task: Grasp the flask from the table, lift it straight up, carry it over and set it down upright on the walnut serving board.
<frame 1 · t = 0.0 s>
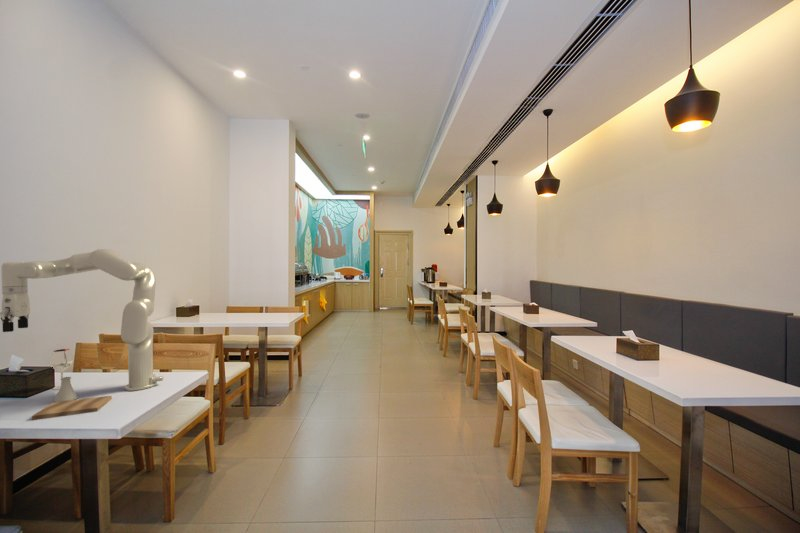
hand: (15, 329, 152), 31 cm above the table, tool pointing down, fingers open, 9 cm apart
flask: (66, 401, 152), on the table
walnut board: (74, 408, 142), on the table
wineglass: (62, 387, 169), on the table
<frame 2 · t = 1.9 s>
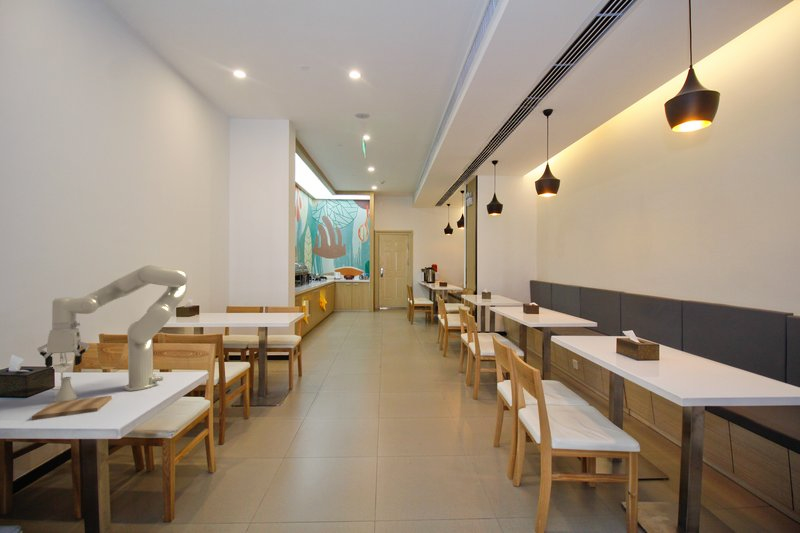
hand: (63, 365, 151), 15 cm above the table, tool pointing down, fingers open, 9 cm apart
nothing on the table moved.
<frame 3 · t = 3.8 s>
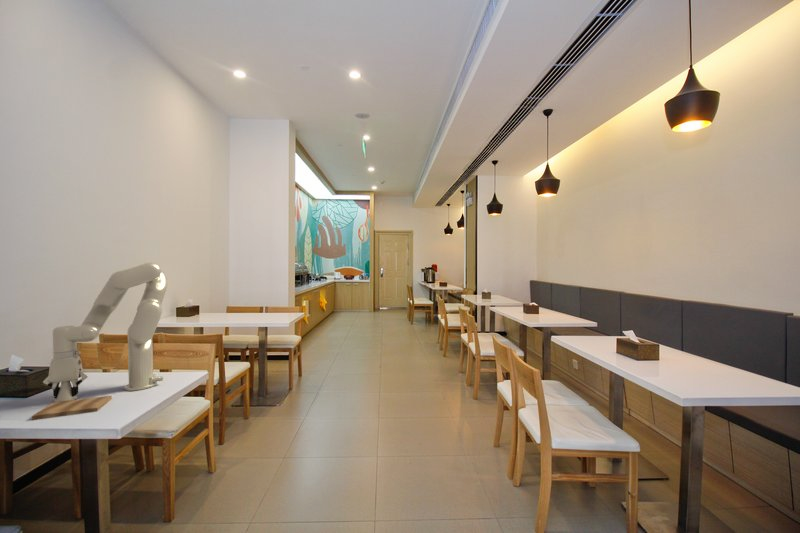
hand: (66, 396, 151), 2 cm above the table, tool pointing down, fingers closed on flask, 5 cm apart
flask: (66, 401, 152), on the table, touching gripper
everything else where it was.
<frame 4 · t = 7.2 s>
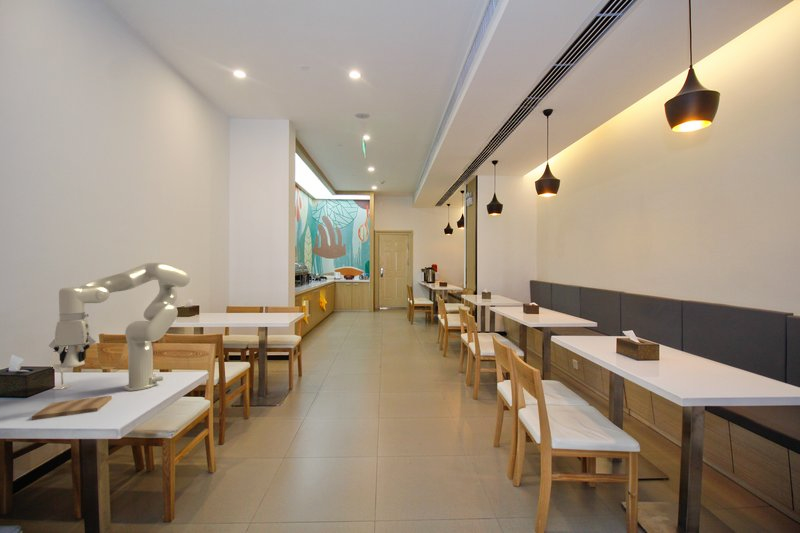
hand: (72, 361, 143), 19 cm above the table, tool pointing down, fingers closed on flask, 5 cm apart
flask: (73, 366, 143), point 17 cm above the table, touching gripper
everything else where it was.
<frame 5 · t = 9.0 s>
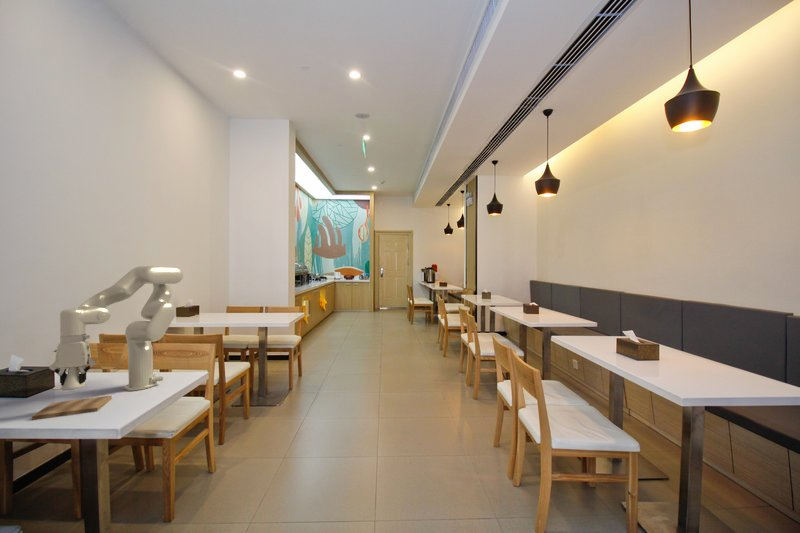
hand: (73, 383, 142), 11 cm above the table, tool pointing down, fingers closed on flask, 5 cm apart
flask: (73, 388, 142), point 8 cm above the table, touching gripper
everything else where it was.
when the fingers open (4 cm above the table, at t = 10.6 s): flask stays where it is, resting on walnut board.
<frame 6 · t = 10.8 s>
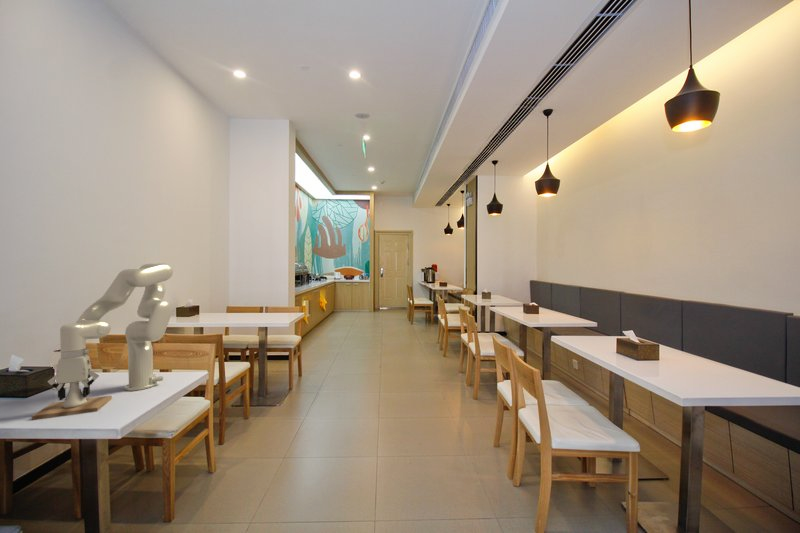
hand: (74, 397, 142), 5 cm above the table, tool pointing down, fingers open, 7 cm apart
flask: (74, 405, 143), point 1 cm above the table, touching walnut board
everything else where it was.
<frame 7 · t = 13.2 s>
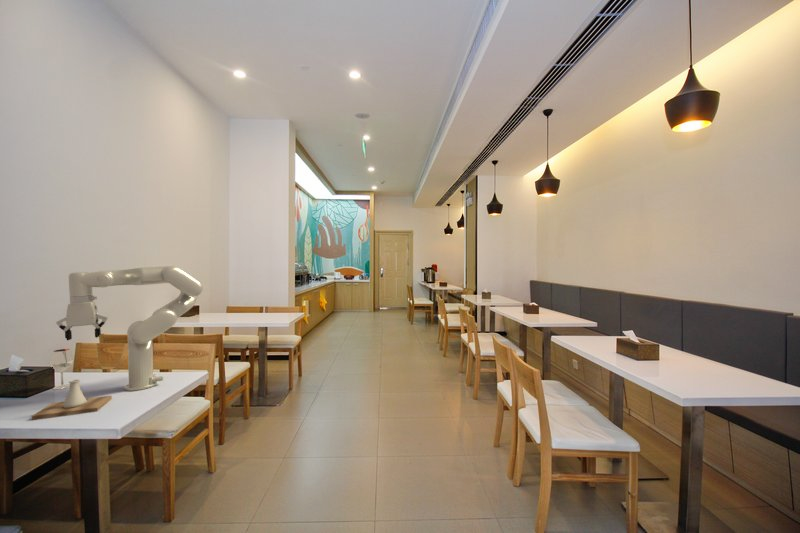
hand: (83, 338, 155), 26 cm above the table, tool pointing down, fingers open, 9 cm apart
nothing on the table moved.
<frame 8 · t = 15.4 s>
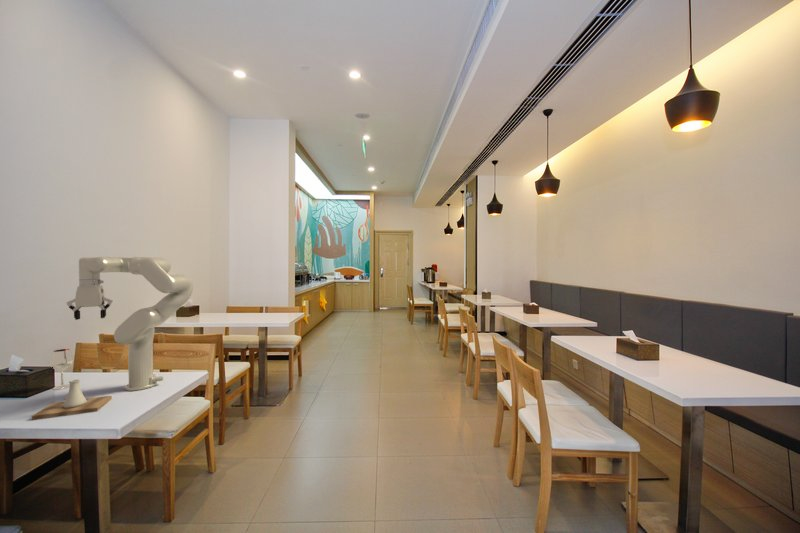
hand: (90, 318, 167), 33 cm above the table, tool pointing down, fingers open, 9 cm apart
nothing on the table moved.
at the end: flask inside the target area on the walnut board (0.1 cm from its centre), point 1.3 cm above the walnut board's base; flask tilted 0°; the gripper is holding nothing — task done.
